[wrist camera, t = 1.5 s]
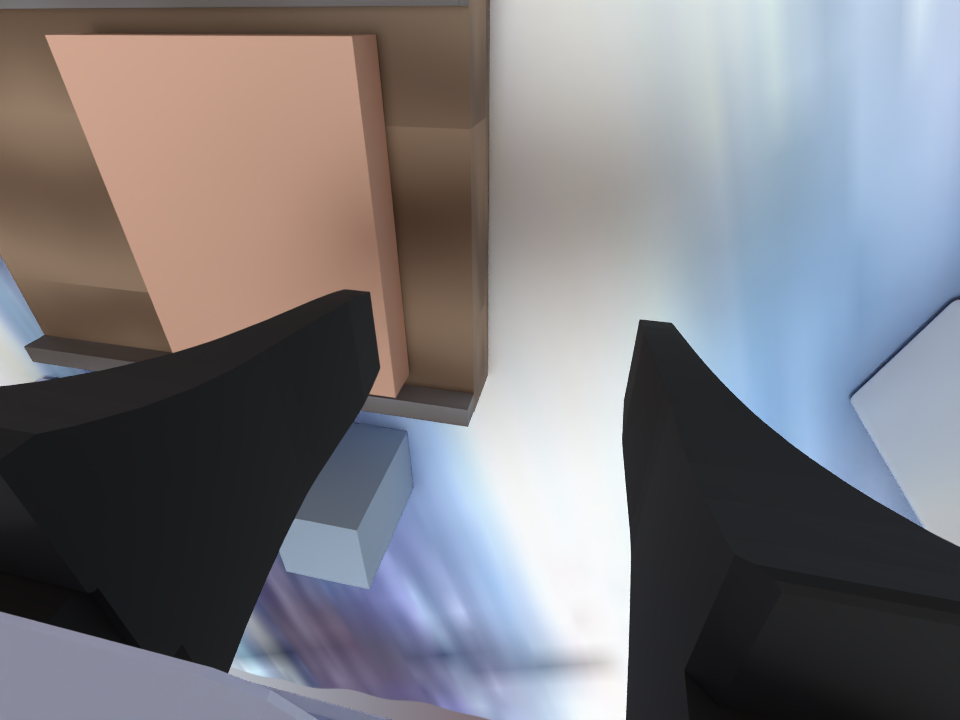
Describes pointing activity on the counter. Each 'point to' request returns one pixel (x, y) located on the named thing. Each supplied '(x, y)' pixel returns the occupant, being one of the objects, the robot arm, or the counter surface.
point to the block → (352, 508)
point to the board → (412, 164)
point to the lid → (244, 174)
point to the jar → (921, 421)
